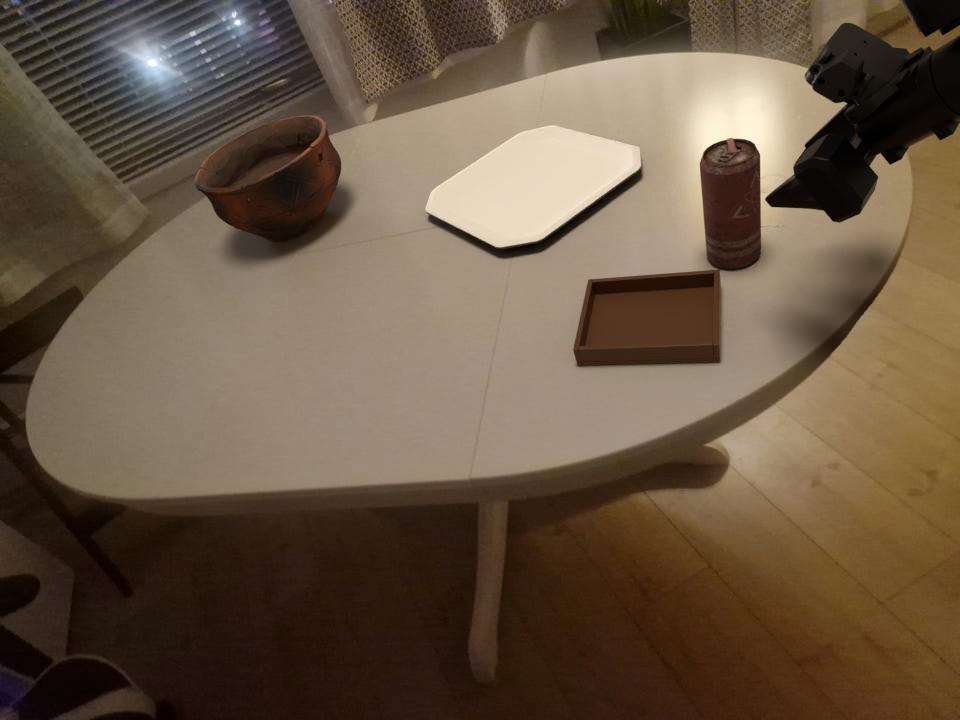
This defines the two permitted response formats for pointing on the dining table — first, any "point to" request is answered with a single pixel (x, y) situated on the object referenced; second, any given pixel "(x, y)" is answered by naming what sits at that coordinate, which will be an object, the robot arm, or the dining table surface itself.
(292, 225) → the bowl
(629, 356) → the tray
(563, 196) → the plate
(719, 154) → the can
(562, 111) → the dining table surface
